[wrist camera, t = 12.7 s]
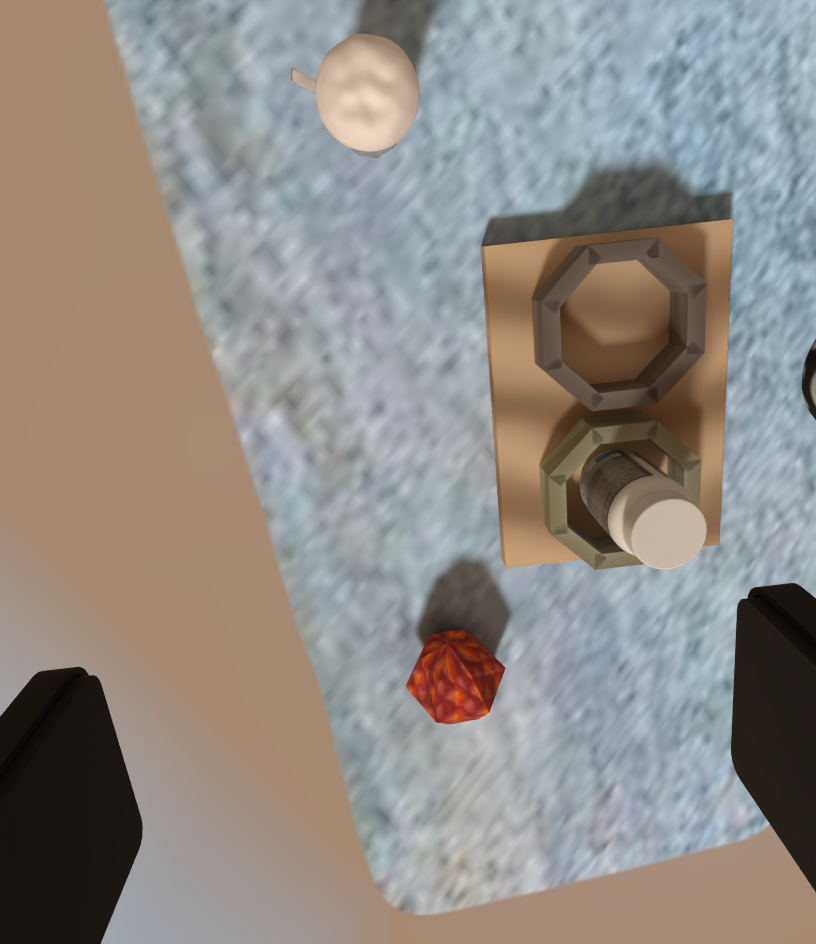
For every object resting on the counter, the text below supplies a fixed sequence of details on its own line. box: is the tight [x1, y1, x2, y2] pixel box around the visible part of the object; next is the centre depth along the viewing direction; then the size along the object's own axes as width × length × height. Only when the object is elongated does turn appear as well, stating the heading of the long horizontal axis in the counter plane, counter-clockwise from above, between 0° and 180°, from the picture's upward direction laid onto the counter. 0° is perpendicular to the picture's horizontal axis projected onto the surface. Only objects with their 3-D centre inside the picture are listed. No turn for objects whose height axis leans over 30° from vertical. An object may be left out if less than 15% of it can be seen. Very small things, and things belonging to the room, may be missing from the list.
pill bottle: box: [579, 448, 707, 569], centre depth 39 cm, size 5×5×8 cm
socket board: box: [481, 219, 733, 570], centre depth 41 cm, size 20×14×4 cm
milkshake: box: [291, 34, 419, 158], centre depth 33 cm, size 4×5×10 cm
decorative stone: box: [406, 629, 505, 724], centre depth 45 cm, size 6×7×8 cm
